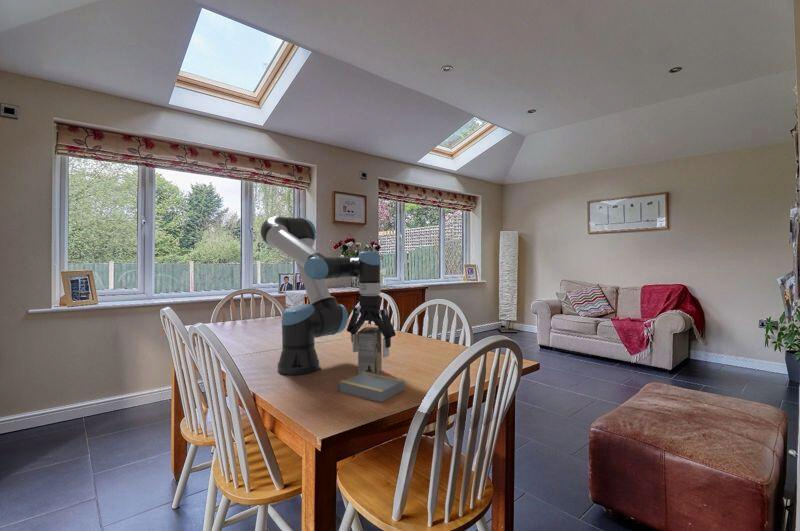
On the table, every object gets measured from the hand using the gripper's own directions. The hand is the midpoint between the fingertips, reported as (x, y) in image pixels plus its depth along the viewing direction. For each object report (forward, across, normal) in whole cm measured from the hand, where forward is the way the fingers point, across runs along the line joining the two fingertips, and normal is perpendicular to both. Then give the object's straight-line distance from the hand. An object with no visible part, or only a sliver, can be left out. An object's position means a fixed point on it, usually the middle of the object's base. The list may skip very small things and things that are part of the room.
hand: (370, 354), depth 136 cm
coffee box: (+7, 0, 0) cm, 7 cm away
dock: (+7, +11, -13) cm, 18 cm away
